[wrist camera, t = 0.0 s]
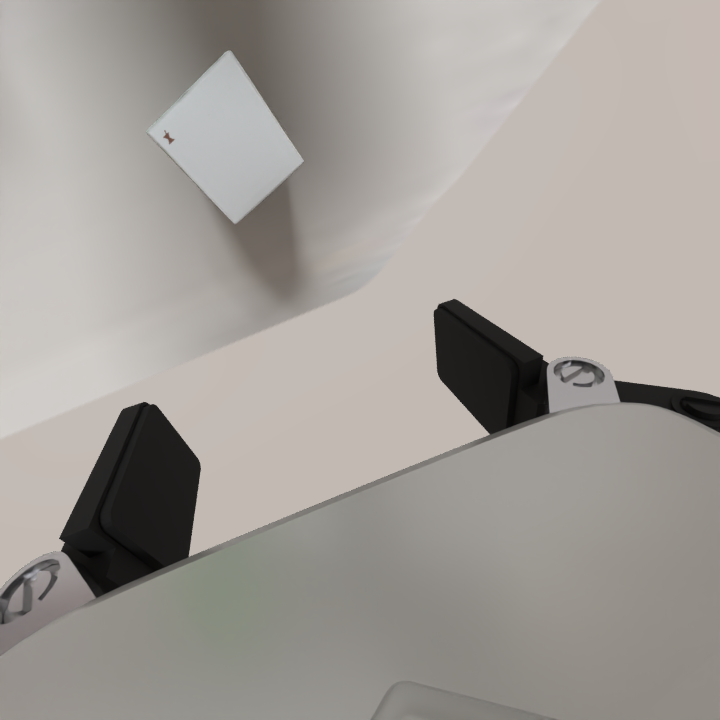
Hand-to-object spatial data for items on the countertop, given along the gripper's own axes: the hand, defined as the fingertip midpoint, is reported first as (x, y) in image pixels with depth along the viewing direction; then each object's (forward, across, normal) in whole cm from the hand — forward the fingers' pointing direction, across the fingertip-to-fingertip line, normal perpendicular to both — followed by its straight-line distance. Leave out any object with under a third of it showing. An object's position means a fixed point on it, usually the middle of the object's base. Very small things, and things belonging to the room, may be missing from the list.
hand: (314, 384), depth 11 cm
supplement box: (+32, 0, -7) cm, 32 cm away
